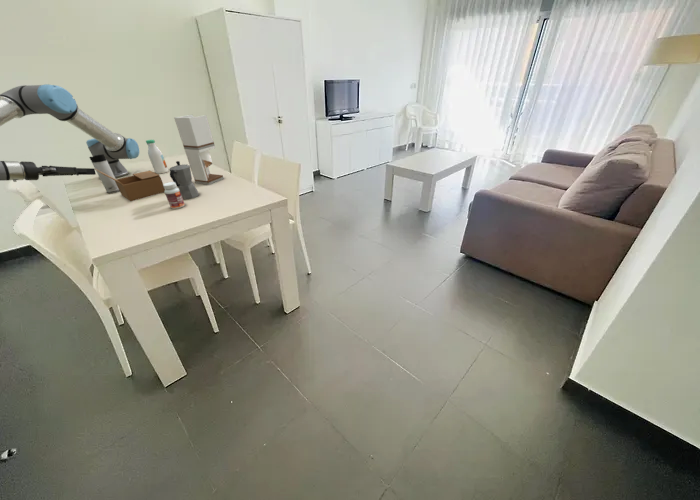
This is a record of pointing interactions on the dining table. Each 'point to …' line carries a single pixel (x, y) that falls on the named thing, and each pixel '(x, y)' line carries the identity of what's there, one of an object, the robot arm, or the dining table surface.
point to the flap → (107, 175)
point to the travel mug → (103, 166)
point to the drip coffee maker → (197, 146)
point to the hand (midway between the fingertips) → (94, 171)
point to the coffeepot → (183, 180)
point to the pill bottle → (173, 195)
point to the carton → (140, 185)
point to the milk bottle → (156, 157)
